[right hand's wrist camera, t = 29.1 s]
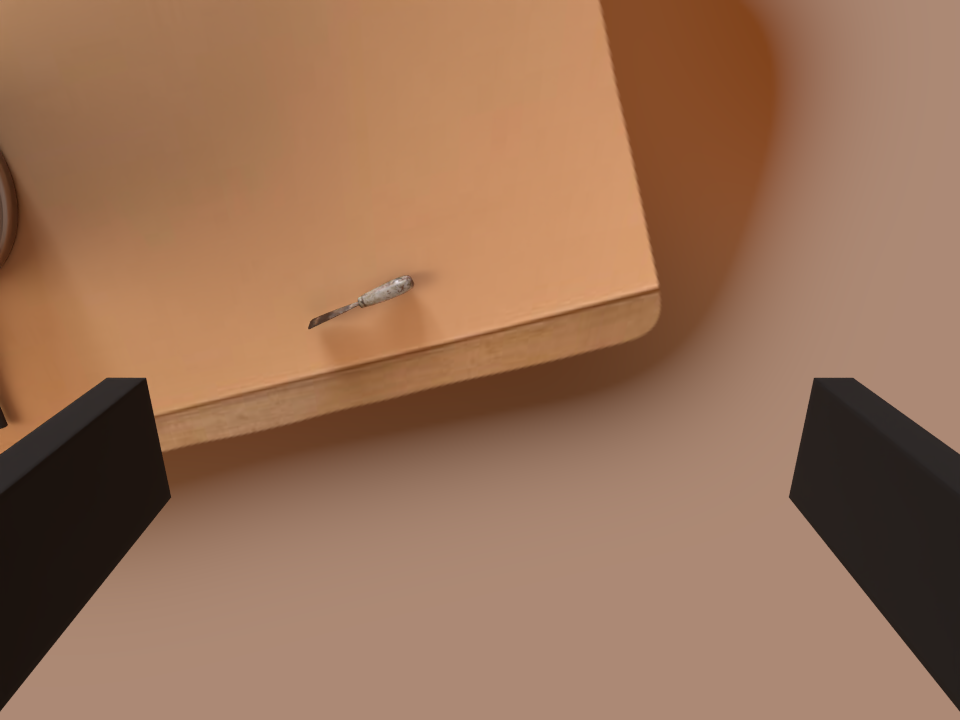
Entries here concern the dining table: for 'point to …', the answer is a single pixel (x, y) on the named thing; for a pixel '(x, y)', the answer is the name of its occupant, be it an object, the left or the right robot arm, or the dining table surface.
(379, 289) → the putty knife
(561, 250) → the dining table surface
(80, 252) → the dining table surface
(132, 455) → the right robot arm
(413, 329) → the dining table surface
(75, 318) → the dining table surface
